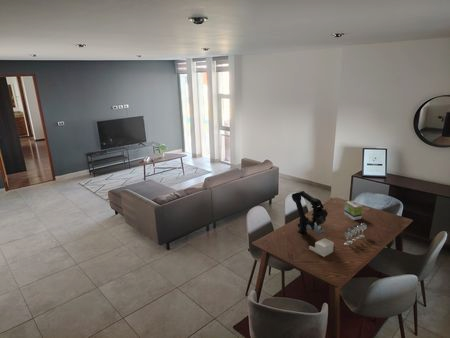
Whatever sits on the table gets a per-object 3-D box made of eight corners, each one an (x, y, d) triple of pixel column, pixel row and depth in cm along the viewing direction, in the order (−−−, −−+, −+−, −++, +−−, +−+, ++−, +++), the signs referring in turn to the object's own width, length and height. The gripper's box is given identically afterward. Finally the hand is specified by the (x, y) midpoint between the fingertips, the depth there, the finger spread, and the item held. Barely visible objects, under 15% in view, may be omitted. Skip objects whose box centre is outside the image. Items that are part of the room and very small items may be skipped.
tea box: (343, 214, 325) (345, 201, 321) (351, 213, 328) (353, 200, 323) (353, 220, 311) (354, 207, 307) (361, 218, 314) (363, 205, 310)
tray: (306, 228, 280) (307, 222, 278) (311, 226, 283) (311, 220, 282) (319, 234, 269) (319, 228, 267) (323, 232, 272) (324, 226, 271)
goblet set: (347, 246, 266) (349, 232, 262) (342, 243, 271) (343, 229, 267) (366, 236, 281) (368, 223, 277) (361, 233, 285) (362, 220, 281)
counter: (309, 248, 263) (309, 239, 261) (318, 244, 270) (318, 235, 267) (323, 256, 251) (324, 247, 249) (332, 251, 258) (333, 242, 255)
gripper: (316, 219, 260) (315, 235, 265) (330, 213, 270) (329, 229, 275) (306, 215, 269) (305, 231, 273) (320, 209, 279) (319, 224, 283)
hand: (315, 229), depth 276 cm, fingers closed on tray, 6 cm apart
